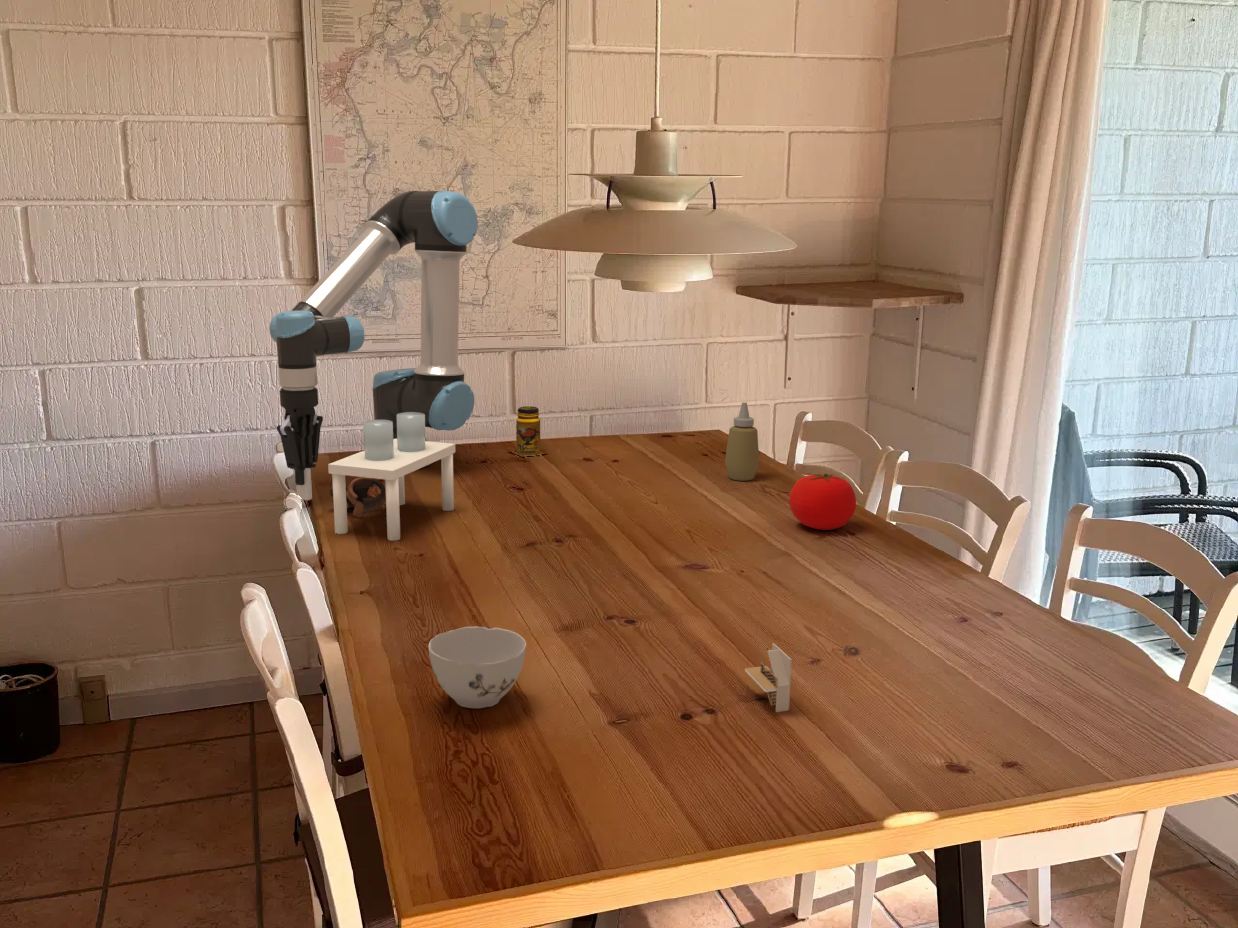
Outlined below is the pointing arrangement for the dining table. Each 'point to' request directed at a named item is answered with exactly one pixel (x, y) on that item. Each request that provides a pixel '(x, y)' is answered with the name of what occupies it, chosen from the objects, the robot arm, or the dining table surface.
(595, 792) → the dining table surface
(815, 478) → the tomato
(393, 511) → the side counter
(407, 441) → the grey domed cylinder
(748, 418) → the squeeze bottle
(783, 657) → the architectural model
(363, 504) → the pottery mug
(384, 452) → the tumbler
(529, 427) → the condiment
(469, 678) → the teacup
